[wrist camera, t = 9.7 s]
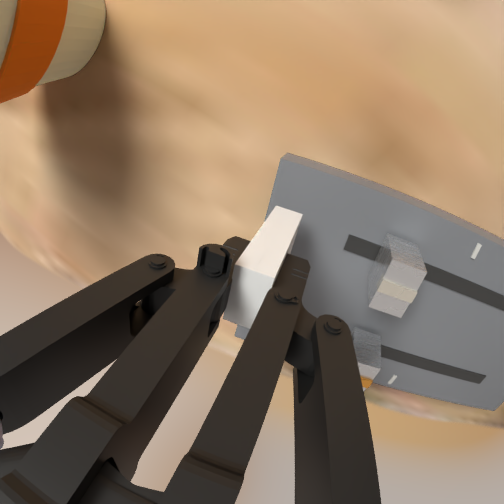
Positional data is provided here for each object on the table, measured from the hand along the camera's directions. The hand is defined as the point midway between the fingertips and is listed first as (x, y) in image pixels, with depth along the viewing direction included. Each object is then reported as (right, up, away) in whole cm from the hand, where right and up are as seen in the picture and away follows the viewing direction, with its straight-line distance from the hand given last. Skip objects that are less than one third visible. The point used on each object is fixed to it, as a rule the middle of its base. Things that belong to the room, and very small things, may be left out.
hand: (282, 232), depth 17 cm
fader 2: (+7, -2, 0) cm, 7 cm away
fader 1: (+6, -8, +4) cm, 10 cm away
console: (+11, -5, +3) cm, 13 cm away
